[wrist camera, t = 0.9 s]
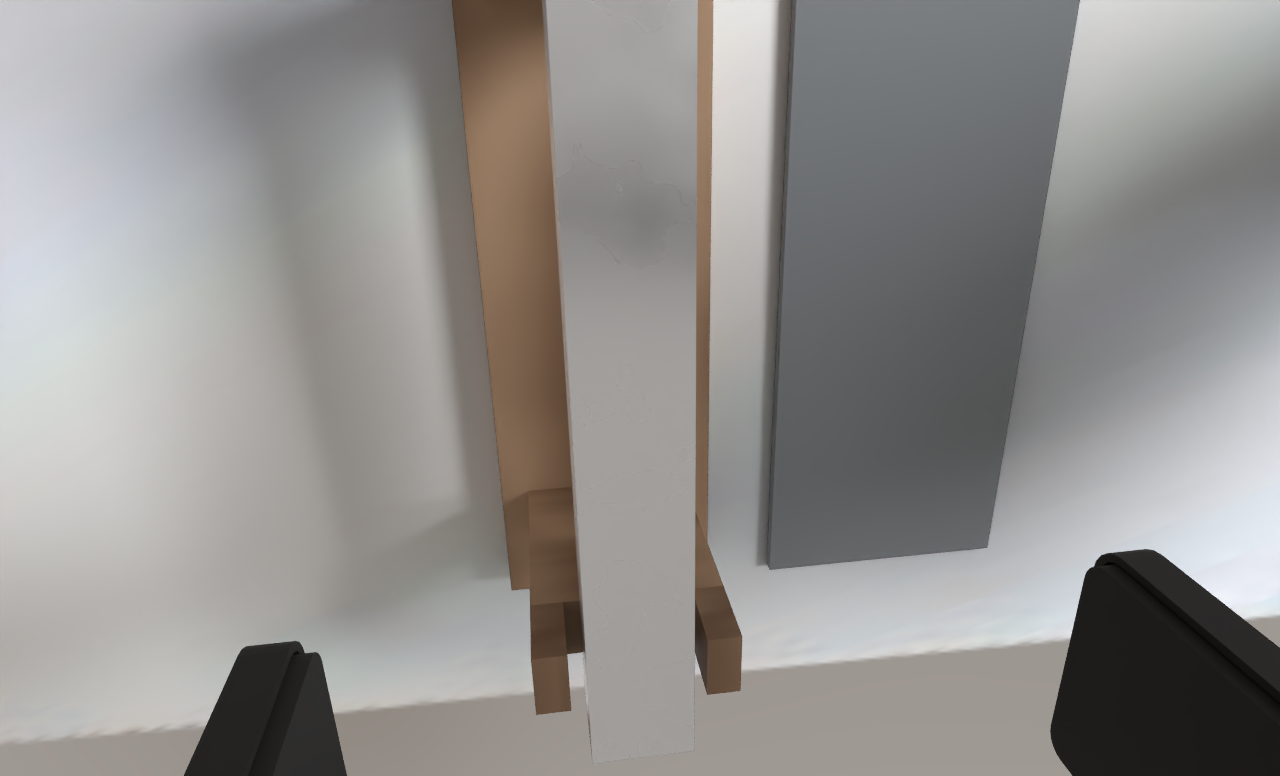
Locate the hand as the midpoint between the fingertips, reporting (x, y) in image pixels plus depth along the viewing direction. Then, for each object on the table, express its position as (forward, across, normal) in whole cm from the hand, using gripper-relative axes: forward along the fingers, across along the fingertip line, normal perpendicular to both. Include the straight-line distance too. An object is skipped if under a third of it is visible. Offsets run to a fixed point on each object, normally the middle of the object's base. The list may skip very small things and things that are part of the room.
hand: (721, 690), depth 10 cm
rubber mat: (+22, -12, 0) cm, 25 cm away
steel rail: (+13, 0, 0) cm, 13 cm away
